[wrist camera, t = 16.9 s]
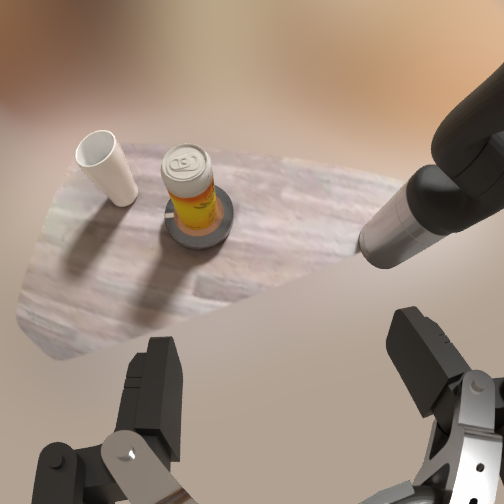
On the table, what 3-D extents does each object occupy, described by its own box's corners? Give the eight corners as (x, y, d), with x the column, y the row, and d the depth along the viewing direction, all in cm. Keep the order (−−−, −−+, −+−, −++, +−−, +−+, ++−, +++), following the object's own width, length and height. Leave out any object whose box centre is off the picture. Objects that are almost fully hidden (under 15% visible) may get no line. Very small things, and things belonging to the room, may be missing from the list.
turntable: (230, 185, 52) (230, 179, 50) (236, 246, 49) (236, 242, 47) (167, 191, 51) (164, 185, 49) (167, 252, 48) (164, 248, 46)
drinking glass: (147, 180, 53) (123, 129, 38) (136, 214, 51) (105, 169, 36) (115, 177, 53) (85, 128, 38) (103, 209, 51) (67, 166, 36)
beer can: (220, 228, 47) (214, 179, 33) (181, 235, 47) (159, 188, 32) (214, 194, 49) (207, 136, 34) (177, 200, 48) (157, 145, 34)
